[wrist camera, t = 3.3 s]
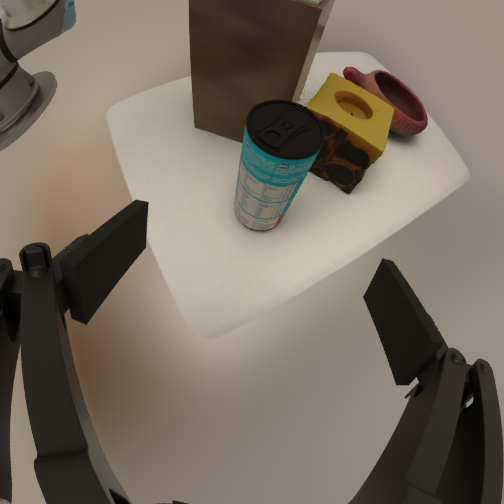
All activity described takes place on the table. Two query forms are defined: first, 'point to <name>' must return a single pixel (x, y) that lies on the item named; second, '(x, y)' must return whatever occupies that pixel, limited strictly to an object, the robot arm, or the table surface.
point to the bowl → (392, 99)
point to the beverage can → (275, 160)
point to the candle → (349, 131)
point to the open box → (312, 2)
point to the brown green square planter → (249, 56)
